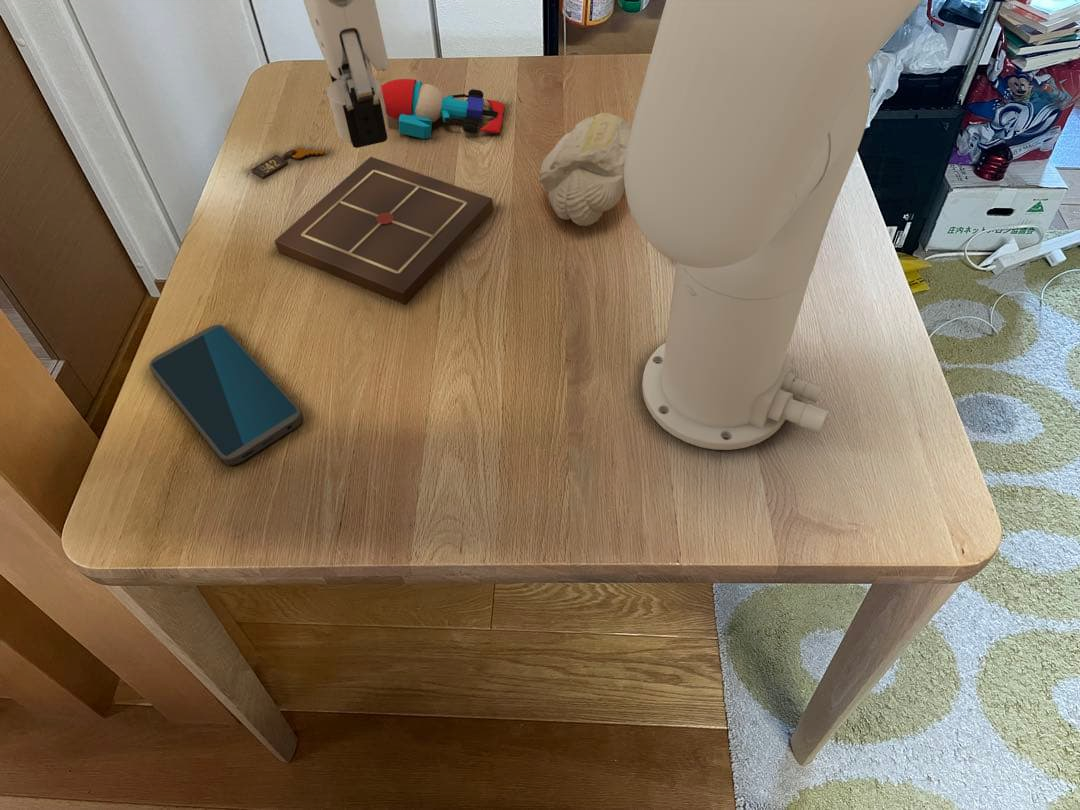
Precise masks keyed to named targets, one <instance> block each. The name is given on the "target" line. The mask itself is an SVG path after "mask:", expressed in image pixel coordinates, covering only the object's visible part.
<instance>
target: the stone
mask: <svg viewBox="0 0 1080 810" xmlns="http://www.w3.org/2000/svg"><path fill="white" fill-rule="evenodd" d="M373 78H374V83H375V87H376V91H377V96H378V98H379V99H380V102H381V107H382V112H383V118H384V123H385V128H386V133H387V132H388V130H389V120H388V115H387V114H386V109H385V104H384V98H383V93H382V88H381V86H382V84H381V82H380V80H378V79H377V78H375V77H374V76H373ZM347 83H348V87H349V91H350V88H353V80H352V79H350V80H347ZM326 96H327V100H328V104H329V108H330V112H331V116H332V120H333V124H334V129H335V132H336V135H337V136H338V137H339V139H341V140H342V141H344V142H346V143H350V144H352V143H351V139H350V134H349V130H348V126H347V122H346V118H345V113H344V109H343V105H346V104H345V100H344V96H343V92H342V88H341V84H340V80H338V79H337V80H336V81H334V82H333V83H332V82H331V84H329V86H328V87H327V89H326Z"/></svg>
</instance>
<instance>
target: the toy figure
mask: <svg viewBox="0 0 1080 810" xmlns="http://www.w3.org/2000/svg"><path fill="white" fill-rule="evenodd" d="M381 88H382V93H383V98H384V104H385V109H386V114H387V117H390V118H392V119H394V120H396V121H398V132H399V134H401V135H402V134H403V135H406V136H410V137H415V138H419V139H423V140H425V139H426V140H427V139H431V136H432V135H431V134H432V130H433V129H432V127H433V126H432V124H433V123H434V122H436V121H438V120H439V119H440V117H441V118H442V121H443V123H450V124H454V125H457V126H462V130H463V131H464V132H466V133H471V134H477V133H478V132H479V130H480V131H482V132H485V133H486V132H487V133H491V134H499V133H500V131H501V129H502V124H503V116H504V112H505V106H506V105H505V104H504V103H503V102H501V101H497V100H492V99H487V98H486V99H484V92H483V91H482V90H481V89H475V88H472V89H469V91H468V92H467V94H465V93H462V94H461V93H460V94H448V95H446V97H444V95H443V93H442V92H441V90H440V89H438V87H436V86H435V85H433V84H429V83H423V80H422V81H421V80H418V81H417V79H414V78H398V79H393V80H389V81H386V82H384V83H383V84H381ZM459 98H467V99H466V100H464V99H459ZM485 101H486V102H487V103H488V104H489V106H490V108H491V109H492V110H489V109H484V105H485V104H484V102H485ZM483 116H485V117H486V116H487V117H493V119H492V120H491V121H490V122H488V123H487V124H486V125H484V126H483V127H481V128H479V127H480V124H481V122H482V120H483V119H482V118H483ZM459 120H463V122H461V121H459Z"/></svg>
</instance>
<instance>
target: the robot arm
mask: <svg viewBox="0 0 1080 810" xmlns="http://www.w3.org/2000/svg"><path fill="white" fill-rule="evenodd" d="M302 1H303V4H304V7H305V8H304V9H305V10H306V14H307V17H308V20H309V24H310V26H311V29H312V31H313V34H314V37H315V39H316V42H317V45H318V48H319V50H320V52H321V54H322V56H323V59H324V61H325V63H326V66H327V68H328V71H329V75H330V79H331V84H332V83H333V82H334V81H336V80H337V79H338V80H340V84H341V88H342V92H343V96H344V100H345V104H346V105H343V109H344V113H345V118H346V122H347V126H348V130H349V134H350V139H351V143H350V144H351V145H352V147H353V148H355V149H359V148H363V147H368V146H373V145H377V144H381V143H385V142H386V141H387V140H388V133H387V132H386V128H385V123H384V118H383V112H382V107H381V102H380V99H379V98H378V96H377V91H376V87H375V83H374V78H375V77H374V74H373V70H372V69H373V68H374V69H375V71H376V72H378V71H382V72H386V71H387V70H388V68H389V66H390V63H389V59H388V55H387V50H386V45H385V40H384V35H383V31H382V27H381V23H380V22H381V21H380V18H379V12H378V9H377V3H376V0H302ZM922 1H923V0H666V1H665V4H664V7H663V11H662V14H661V16H660V21H659V25H658V28H657V32H656V36H655V38H654V44H653V47H652V51H651V54H650V58H649V62H648V65H647V69H646V72H645V76H644V80H643V84H642V87H641V91H640V94H639V98H638V101H637V105H636V109H635V113H634V116H633V120H632V124H631V129H630V135H629V139H628V144H627V149H626V154H625V164H624V184H625V187H624V191H625V198H626V200H627V205H628V208H629V212H630V214H631V216H632V219H633V220H634V223H635V225H636V227H637V228H638V229H639V231H640V233H641V235H642V236H643V237H644V238H645V239H646V241H647V242H648V243H649V244H650V245H651V246H652V247H653V248H654V249H655V250H656V251H657V252H659V253H660V254H661V255H663V256H664V257H665V258H668V259H669V260H671V261H673V262H675V270H674V277H673V286H672V294H671V299H670V300H671V301H670V309H669V317H668V325H667V331H666V339H665V342H664V343H662V344H661V345H660V346H658V347H657V348H656V350H654V352H653V353H652V354H651V355H650V357H649V358H648V360H647V362H646V364H645V367H644V370H643V373H642V380H641V381H642V382H641V390H642V398H643V400H644V403H645V406H646V409H647V410H648V412H649V413H650V415H651V417H652V418H653V419H654V420H655V422H656V423H657V424H658V425H659V426H660V427H661V428H662V429H663V430H665V431H666V432H668V433H669V434H670V435H672V436H673V437H675V438H676V439H679V440H680V441H683V442H685V443H687V444H689V445H693V446H696V447H699V448H704V449H708V450H709V449H710V450H714V451H715V450H717V451H718V450H719V451H720V450H723V451H731V450H739V449H740V450H741V449H745V448H749V447H752V446H755V445H758V444H760V443H761V442H764V441H766V440H767V439H769V438H770V437H771V436H773V435H774V434H775V433H777V432H778V430H780V428H781V427H782V426H783V424H784V423H785V422H786V421H787V422H788V421H789V422H791V423H794V424H796V425H797V426H798V427H800V428H802V429H805V430H808V431H810V432H813V433H816V434H818V435H820V433H821V431H822V429H823V427H824V425H825V422H826V420H827V418H828V415H829V411H827V410H825V409H822V408H820V407H817V406H815V405H812V404H810V403H804V402H801V401H798V400H796V399H794V395H795V396H797V397H800V398H801V399H804V400H807V401H809V402H812V403H814V404H817V403H818V400H819V399H820V397H821V393H822V392H823V387H822V386H818V385H816V384H813V383H810V382H806V381H804V380H800V379H798V378H796V374H795V373H793V372H790V371H791V367H792V365H793V361H794V358H795V357H794V355H793V354H790V353H788V350H789V348H790V343H791V340H792V337H793V334H794V331H795V328H796V324H797V321H798V317H799V315H800V311H801V307H802V304H803V301H804V298H805V295H806V292H807V288H808V285H809V282H810V279H811V275H812V273H813V271H814V268H815V264H816V262H817V258H818V254H819V252H820V249H821V246H822V242H823V239H824V236H825V234H826V230H827V227H828V224H829V222H830V219H831V216H832V213H833V210H834V208H835V205H836V203H837V200H838V198H839V195H840V193H841V191H842V188H843V186H844V184H845V181H846V178H847V176H848V174H849V172H850V169H851V166H852V164H853V162H854V159H855V157H856V154H857V152H858V150H859V147H860V144H861V142H862V139H863V136H864V133H865V130H866V127H867V123H868V118H869V114H870V107H871V97H872V95H871V94H872V86H871V85H872V84H871V76H870V71H869V64H870V63H871V61H872V60H873V58H875V56H876V55H877V54H878V53H879V51H880V50H881V49H882V48H883V47H884V46H885V44H886V43H887V42H888V41H889V40H890V39H891V38H892V36H893V35H894V34H895V33H896V32H897V30H899V28H900V27H901V26H902V25H903V23H904V22H905V21H906V20H907V19H908V18H909V17H910V15H912V13H913V12H914V11H915V10H916V8H917V7H918V6H919V5H920V3H921V2H922ZM371 65H372V66H373V68H372V66H371ZM373 77H374V78H373ZM350 79H352V80H353V88H350V91H349V87H348V83H347V80H350Z"/></svg>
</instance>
